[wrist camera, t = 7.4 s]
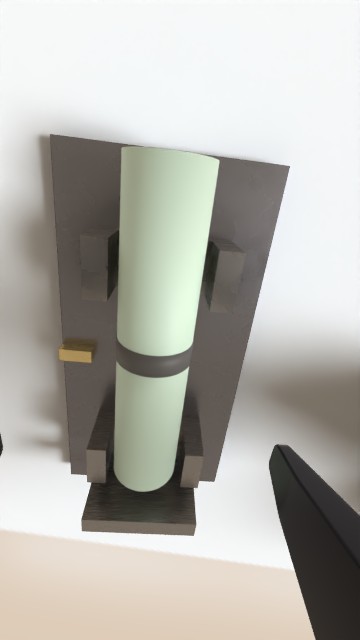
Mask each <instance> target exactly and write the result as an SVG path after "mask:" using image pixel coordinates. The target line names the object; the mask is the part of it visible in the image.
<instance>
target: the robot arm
mask: <svg viewBox="0 0 360 640" xmlns="http://www.w3.org/2000/svg"><path fill="white" fill-rule="evenodd" d="M2 450H3V444H2V439H1V434H0V456H1V454H2ZM269 470H270V475H271V480H272V485H273V490H274V495H275V500H276V505H277V510H278V515H279V519H280V522H281V526H282V529H283V533H284V536H285V539H286V542H287V546H288V549H289V552H290V556H291V559H292V562H293V566H294V569H295V572H296V576H297V579H298V582H299V586H300V589H301V592H302V596H303V599H304V602H305V606H306V609H307V612H308V616H309V619H310V622H311V625H312V629H313V632H314V636H315V639H316V640H360V516H359V515H358V514H357V513H356V512H355V511H354V510H353V509H352V508H351V507H350V506H349V505H348V504H347V503H346V502H345V501H344V500H343V499H342V498H341V497H340V496H339V495H338V494H337V493H336V492H335V491H334V490H333V489H332V488H331V487H330V486H329V485H328V484H327V483H326V482H325V481H324V480H323V479H322V478H321V477H320V476H319V475H318V474H317V473H316V472H315V471H314V470H313V469H312V468H311V467H310V466H309V465H308V464H307V463H306V462H305V461H304V460H303V459H302V458H301V457H299V456H298V455H297V454H296V453H295V452H294V451H293V450H292V449H291V448H290V447H289V446H288V445H279V444H277V445H275V446H274V449H273V452H272V455H271V458H270V461H269Z"/></svg>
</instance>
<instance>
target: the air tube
mask: <svg viewBox="0 0 360 640" xmlns="http://www.w3.org/2000/svg"><path fill="white" fill-rule="evenodd" d="M219 162H220V161H219V160H218V159H216V158H213V157H209V156H205V155H200V154H196V153H190V152H184V151H178V150H171V149H162V148H153V147H138V146H128V147H122V150H121V191H120V232H119V273H118V313H117V333H116V395H115V436H114V472H115V475H116V477H117V478H118V480H119V481H120V482H121V483H122V484H123V485H124V486H126V487H127V488H129V489H131V490H135V491H141V492H146V491H152V490H155V489H158V488H160V487H161V486H163V485H164V484H165V483H166V482H167V481H168V480H169V479H170V477H171V476H172V474H173V471H174V465H175V458H176V451H177V445H178V438H179V431H180V425H181V418H182V411H183V404H184V398H185V391H186V384H187V377H188V371H189V365H190V363H191V357H192V350H193V343H194V338H193V337H194V330H195V323H196V317H197V310H198V303H199V297H200V290H201V283H202V276H203V270H204V263H205V256H206V249H207V243H208V236H209V229H210V222H211V216H212V209H213V202H214V195H215V189H216V182H217V175H218V169H219Z"/></svg>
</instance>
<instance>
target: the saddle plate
mask: <svg viewBox="0 0 360 640" xmlns="http://www.w3.org/2000/svg"><path fill="white" fill-rule="evenodd" d="M50 140H51V156H52V172H53V188H54V204H55V220H56V236H57V252H58V268H59V285H60V301H61V317H62V333H63V344H62V345H61V347H60V348H59V360H62V361H64V365H65V381H66V397H67V413H68V429H69V446H70V462H71V474H80V475H87V482H92V483H91V487H90V490H89V494H88V498H87V501H86V505H85V509H84V512H83V516H82V520H81V521H82V531H90V532H115V533H140V534H165V535H189V536H194V532H195V528H196V515H195V501H194V488H198V483H199V481H210V482H214V481H215V477H216V473H217V469H218V464H219V460H220V456H221V452H222V448H223V444H224V439H225V435H226V431H227V427H228V423H229V419H230V414H231V410H232V406H233V402H234V398H235V393H236V389H237V385H238V381H239V377H240V373H241V368H242V364H243V360H244V356H245V352H246V348H247V343H248V339H249V335H250V331H251V327H252V322H253V318H254V314H255V310H256V306H257V302H258V297H259V293H260V289H261V285H262V281H263V276H264V272H265V268H266V264H267V260H268V256H269V251H270V247H271V243H272V239H273V235H274V231H275V226H276V222H277V218H278V214H279V210H280V205H281V201H282V197H283V193H284V189H285V185H286V180H287V176H288V172H289V168H290V166H285V165H278V164H270V163H263V162H255V161H248V160H240V159H233V158H225V157H218V156H210V155H205V156H209V157H213V158H216V159H218V160H219V161H220V162H219V169H218V175H217V182H216V189H215V195H214V202H213V209H212V216H211V222H210V229H209V236H208V243H207V249H206V256H205V263H204V270H203V276H202V283H201V290H200V297H199V303H198V310H197V317H196V323H195V330H194V337H193V338H194V343H193V350H192V357H191V363H190V365H189V371H188V377H187V384H186V391H185V398H184V404H183V411H182V418H181V425H180V431H179V438H178V445H177V451H176V458H175V465H174V471H173V474H172V476H171V477H170V479H169V480H168V481H167V482H166V483H165V484H164V485H163V486H161V487H160V488H158V489H155V490H152V491H146V492H141V491H135V490H131V489H129V488H127V487H126V486H124V485H123V484H122V483H121V482H120V481H119V480H118V478H117V477H116V475H115V472H114V436H115V395H116V333H117V313H118V273H119V232H120V191H121V150H122V147H128V146H135V145H128V144H120V143H113V142H105V141H98V140H90V139H83V138H75V137H68V136H60V135H53V134H50ZM138 147H143V146H138ZM200 155H203V154H200Z"/></svg>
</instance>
